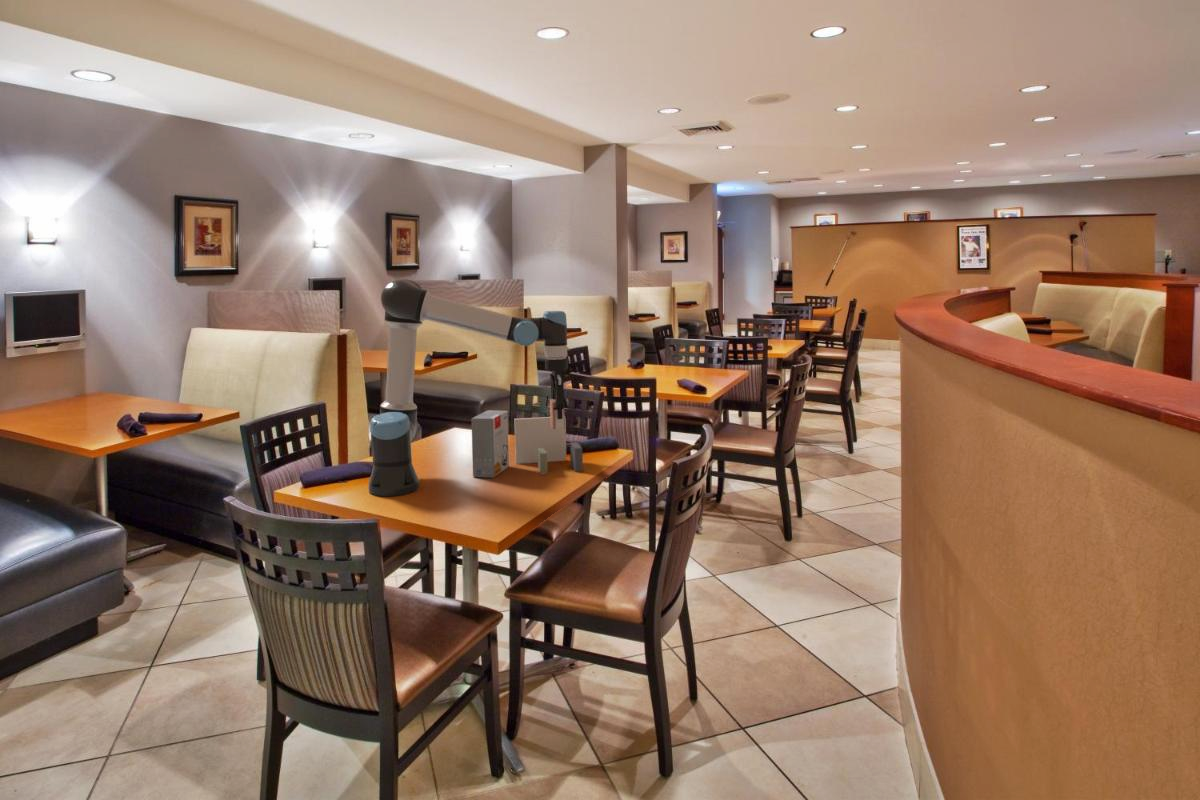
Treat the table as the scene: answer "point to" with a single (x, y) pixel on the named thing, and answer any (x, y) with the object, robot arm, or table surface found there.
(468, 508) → the table surface
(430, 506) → the table surface
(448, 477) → the table surface
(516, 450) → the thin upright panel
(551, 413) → the book
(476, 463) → the hard drive box
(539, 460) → the divider book
